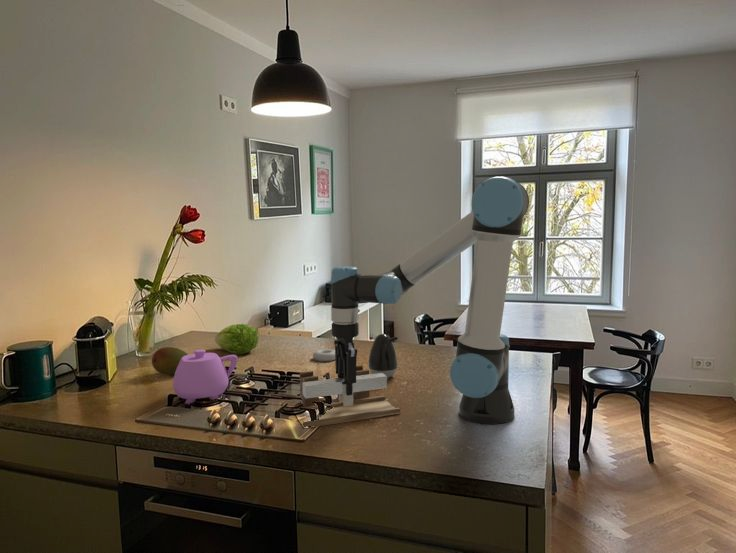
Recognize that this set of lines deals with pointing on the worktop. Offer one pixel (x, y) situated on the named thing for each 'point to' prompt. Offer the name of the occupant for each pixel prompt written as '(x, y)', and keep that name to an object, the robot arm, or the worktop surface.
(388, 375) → the pump dispenser
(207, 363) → the teapot
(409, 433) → the worktop surface
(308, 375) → the cradle posts
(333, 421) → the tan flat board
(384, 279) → the robot arm
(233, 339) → the lettuce
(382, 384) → the rail
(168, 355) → the fruit
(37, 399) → the worktop surface
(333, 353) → the donut
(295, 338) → the worktop surface
